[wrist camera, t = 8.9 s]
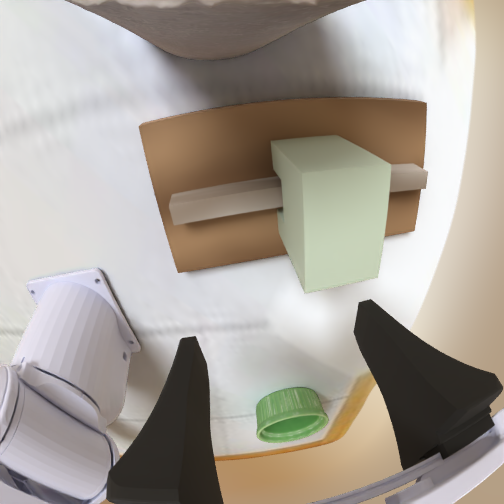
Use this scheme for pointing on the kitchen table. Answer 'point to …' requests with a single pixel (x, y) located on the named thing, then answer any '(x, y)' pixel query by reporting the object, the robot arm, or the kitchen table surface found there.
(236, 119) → the cleat plank
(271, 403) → the ramekin
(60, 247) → the kitchen table surface
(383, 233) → the notched block
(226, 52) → the pillar candle
